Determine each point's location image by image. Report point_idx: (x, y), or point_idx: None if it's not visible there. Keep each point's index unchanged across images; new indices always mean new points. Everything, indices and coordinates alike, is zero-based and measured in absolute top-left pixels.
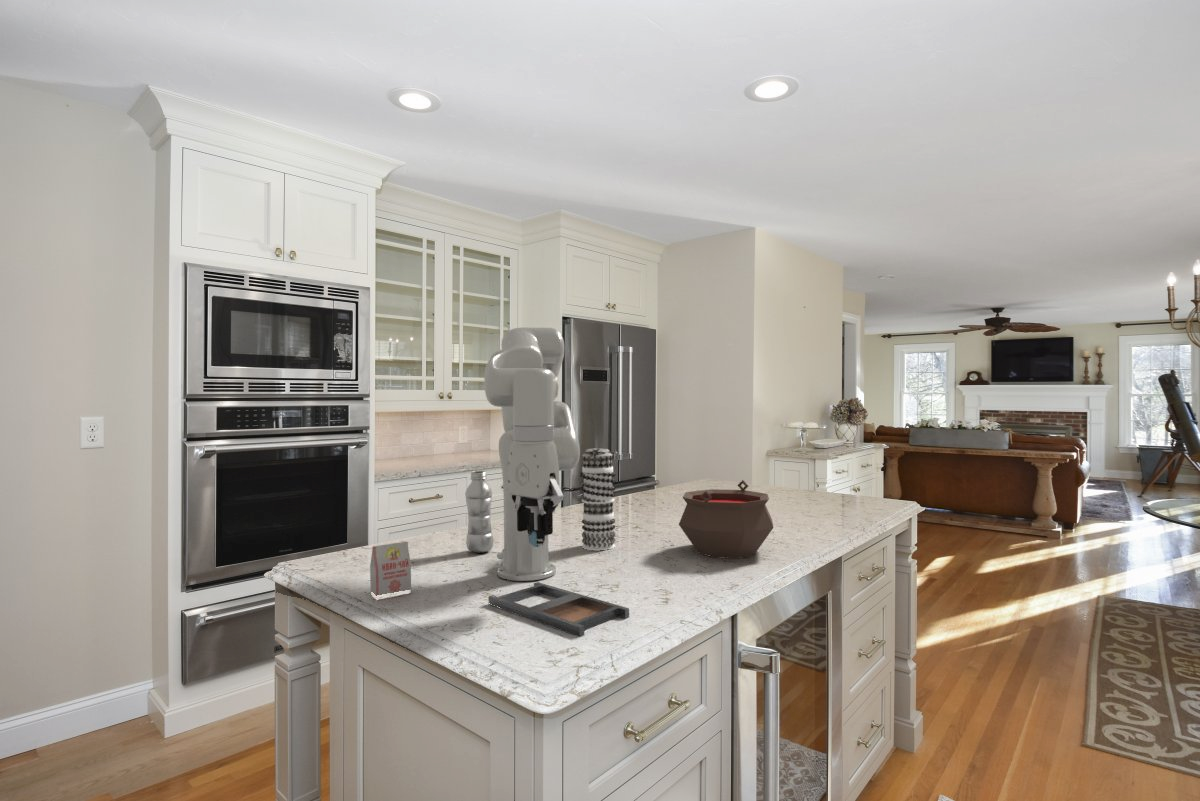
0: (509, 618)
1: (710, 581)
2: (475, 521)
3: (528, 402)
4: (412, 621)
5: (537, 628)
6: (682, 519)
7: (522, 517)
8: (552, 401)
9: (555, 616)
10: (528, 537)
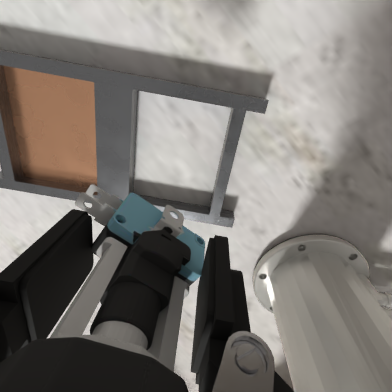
0: (162, 50)
1: (47, 337)
2: None
3: None
4: None
5: (68, 33)
6: None
7: (205, 294)
8: None
9: (44, 71)
10: (164, 219)
